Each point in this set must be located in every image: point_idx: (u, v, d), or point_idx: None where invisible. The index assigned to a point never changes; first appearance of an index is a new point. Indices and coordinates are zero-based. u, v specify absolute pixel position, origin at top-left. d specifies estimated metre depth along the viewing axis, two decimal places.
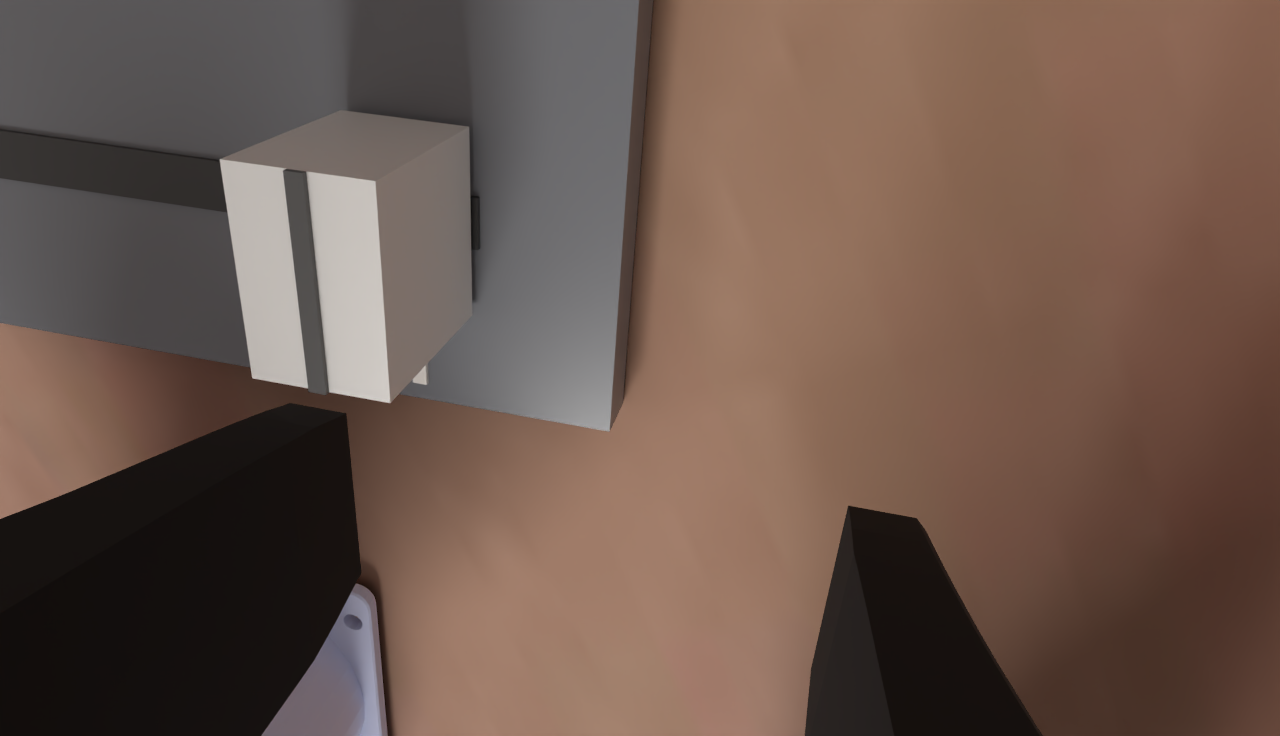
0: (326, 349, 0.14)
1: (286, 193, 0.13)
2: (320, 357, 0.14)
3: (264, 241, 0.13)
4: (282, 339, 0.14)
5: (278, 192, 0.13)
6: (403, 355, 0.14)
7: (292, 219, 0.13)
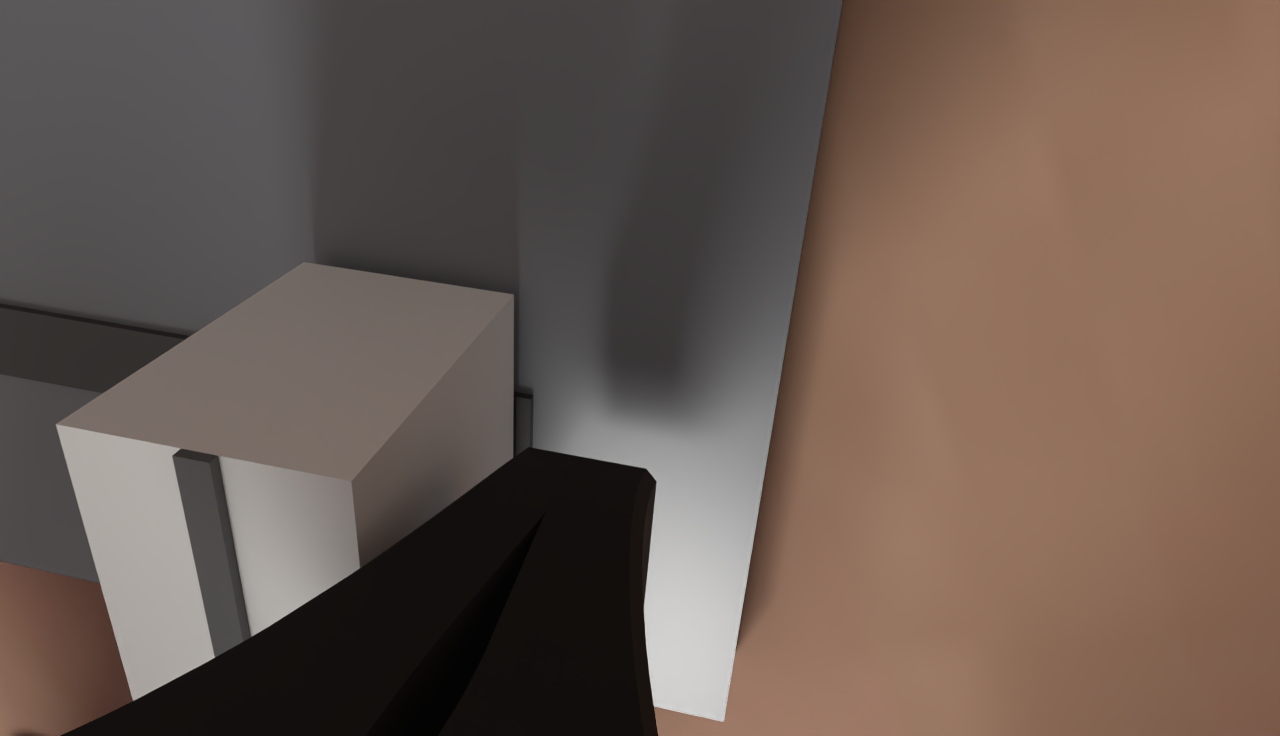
0: None
1: (181, 493, 0.07)
2: None
3: (150, 559, 0.07)
4: None
5: (167, 486, 0.07)
6: None
7: (198, 528, 0.07)
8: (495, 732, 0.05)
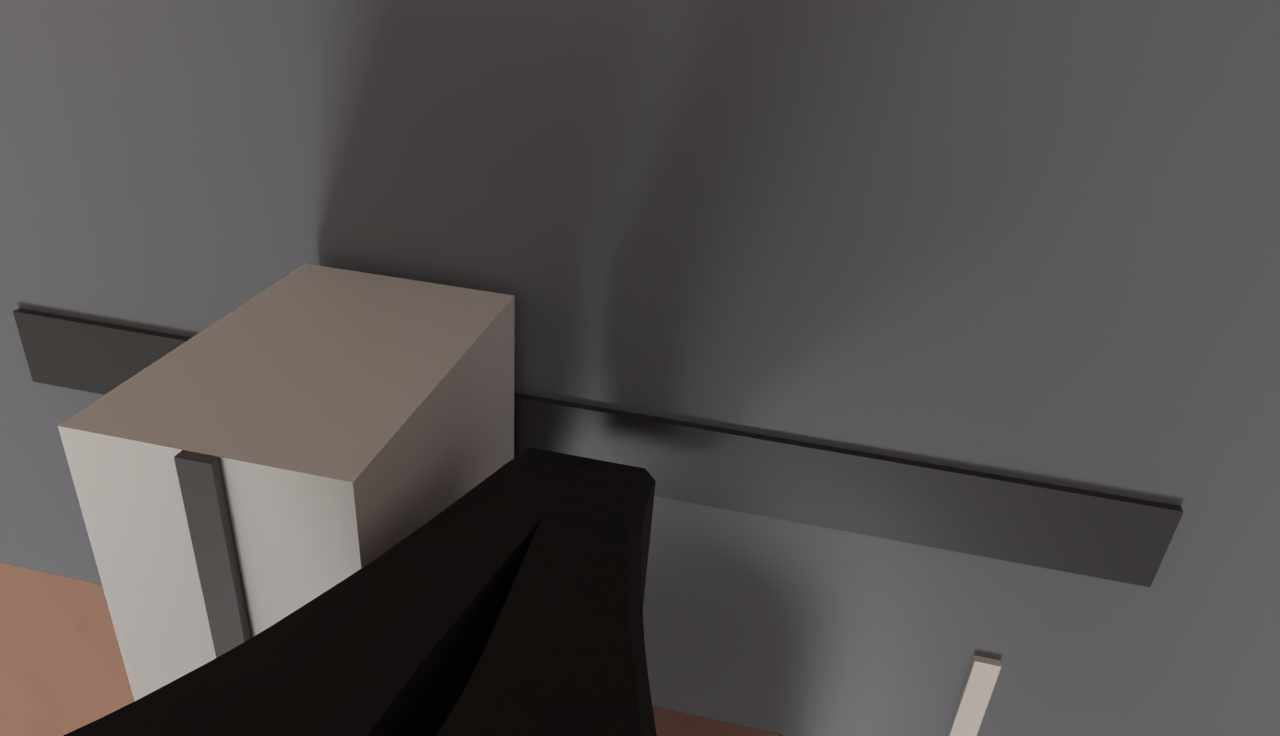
0: None
1: (183, 494, 0.07)
2: None
3: (152, 560, 0.07)
4: None
5: (169, 488, 0.07)
6: None
7: (200, 530, 0.07)
8: (494, 732, 0.05)
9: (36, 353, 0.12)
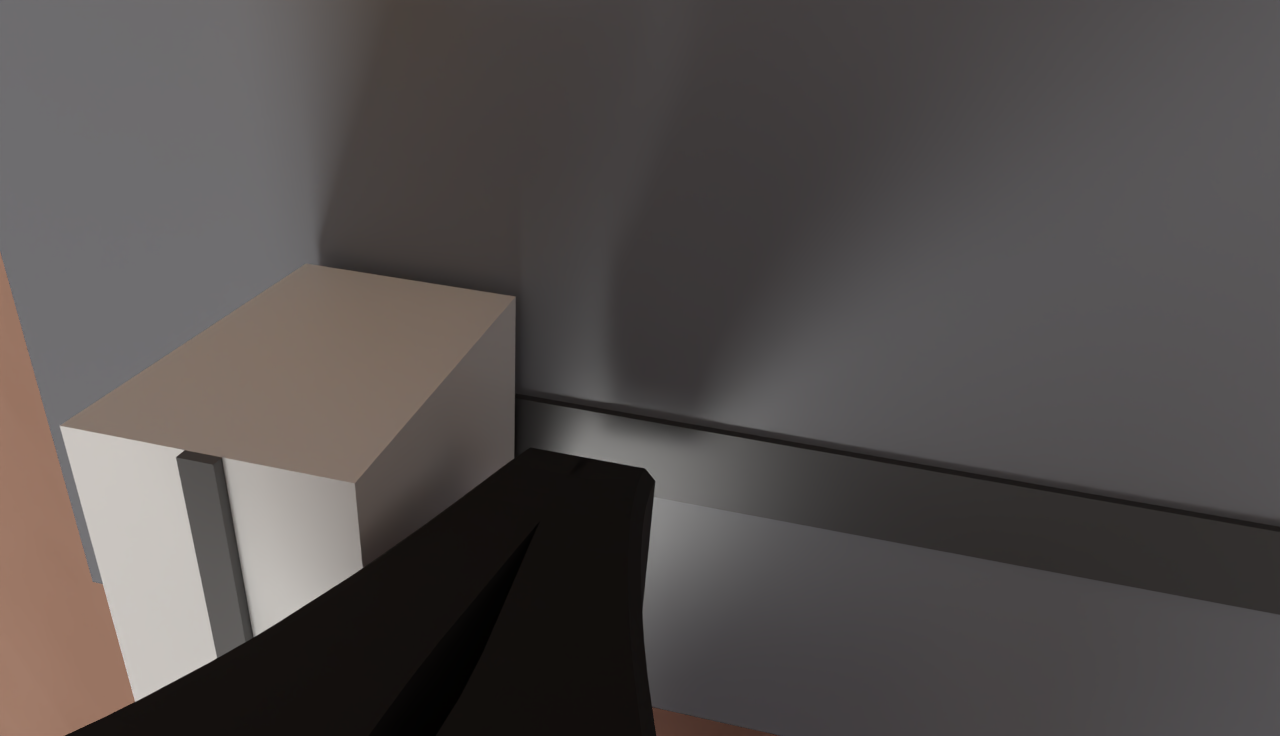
0: None
1: (185, 495, 0.07)
2: None
3: (153, 560, 0.07)
4: None
5: (171, 488, 0.07)
6: None
7: (202, 530, 0.07)
8: (494, 731, 0.05)
9: None
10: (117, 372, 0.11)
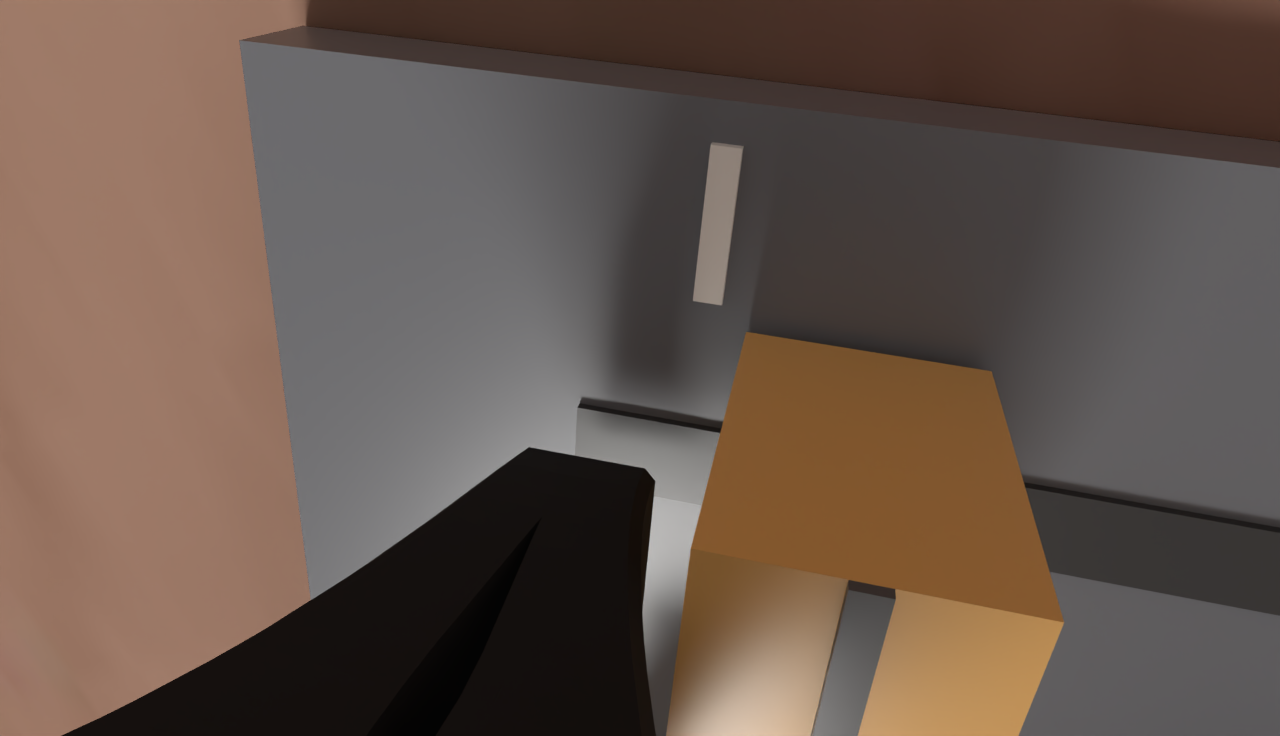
0: None
1: None
2: None
3: None
4: None
5: None
6: None
7: None
8: (493, 731, 0.05)
9: None
10: None
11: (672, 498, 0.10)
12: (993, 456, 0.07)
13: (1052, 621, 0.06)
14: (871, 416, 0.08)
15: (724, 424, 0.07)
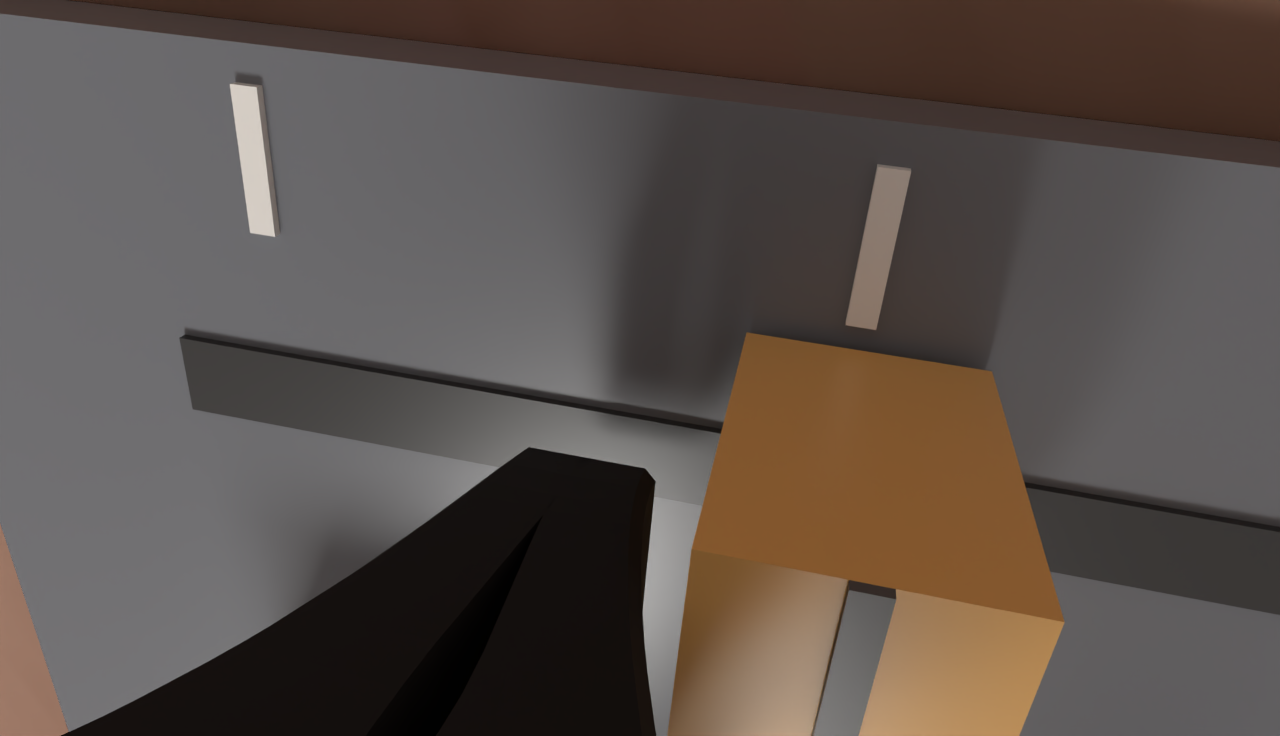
0: None
1: None
2: None
3: None
4: None
5: None
6: None
7: None
8: (493, 731, 0.05)
9: None
10: None
11: (277, 424, 0.11)
12: (993, 456, 0.07)
13: (1052, 621, 0.06)
14: (871, 416, 0.08)
15: (725, 424, 0.08)
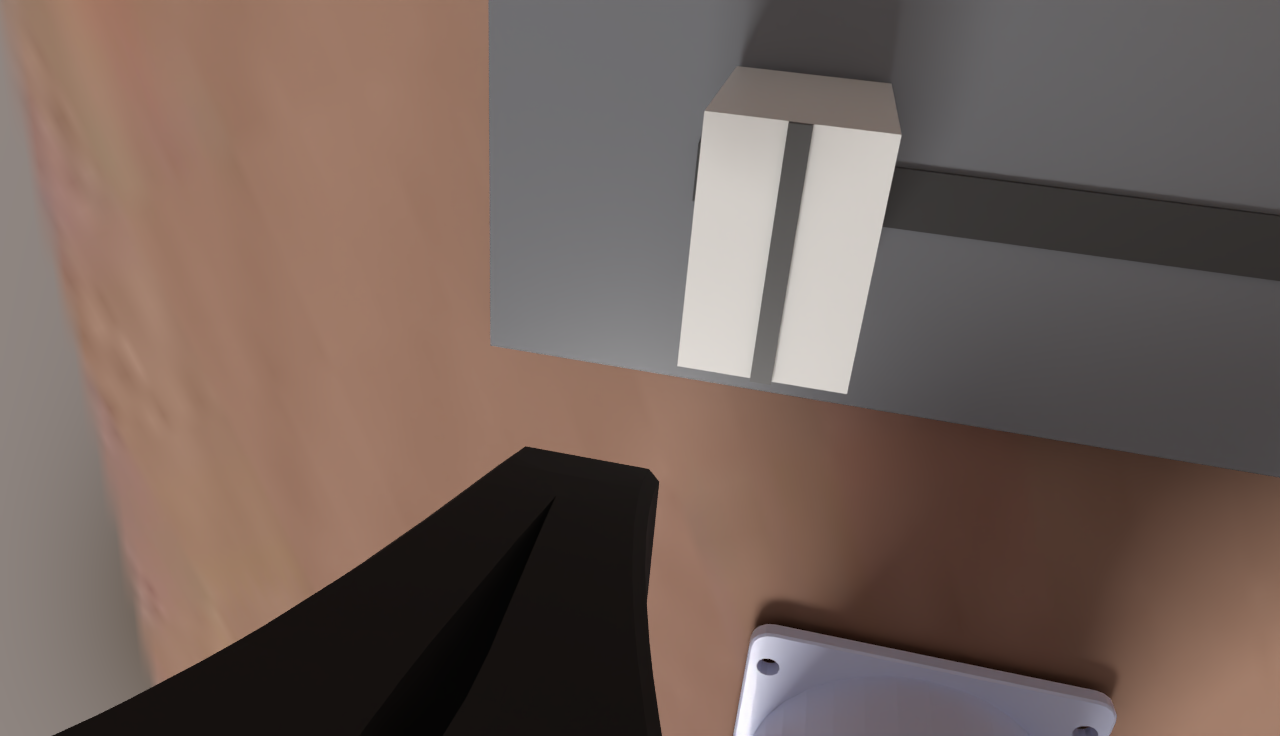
0: (783, 332, 0.12)
1: (785, 150, 0.11)
2: (770, 341, 0.12)
3: (737, 206, 0.12)
4: (728, 321, 0.12)
5: (772, 149, 0.11)
6: None
7: (780, 180, 0.11)
8: (499, 733, 0.05)
9: None
10: (558, 164, 0.16)
11: None
12: None
13: None
14: None
15: None
